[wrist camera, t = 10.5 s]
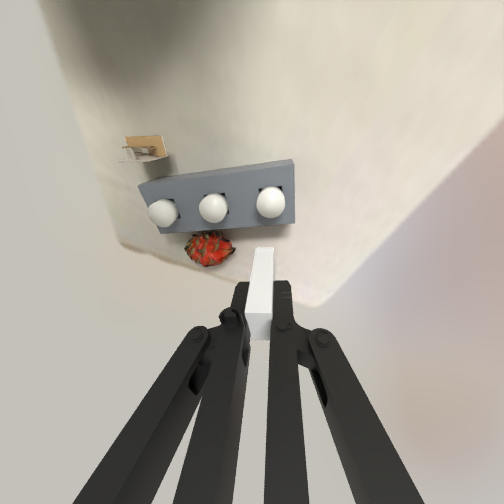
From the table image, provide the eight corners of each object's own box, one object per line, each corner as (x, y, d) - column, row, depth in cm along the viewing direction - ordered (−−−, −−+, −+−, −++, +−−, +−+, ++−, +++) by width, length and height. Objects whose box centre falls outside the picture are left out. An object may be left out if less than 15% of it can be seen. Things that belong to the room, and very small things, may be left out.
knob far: (166, 191, 38) (142, 204, 32) (185, 189, 37) (166, 202, 31) (174, 212, 41) (154, 228, 34) (193, 210, 40) (176, 226, 33)
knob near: (258, 179, 35) (254, 192, 28) (283, 176, 34) (284, 188, 27) (261, 203, 37) (258, 219, 31) (284, 200, 36) (285, 216, 30)
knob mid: (210, 186, 36) (195, 198, 30) (232, 183, 35) (221, 195, 29) (215, 207, 39) (203, 223, 32) (236, 205, 38) (227, 221, 31)
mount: (155, 178, 38) (137, 185, 33) (291, 159, 33) (294, 164, 28) (173, 221, 43) (160, 233, 38) (292, 211, 38) (294, 223, 33)
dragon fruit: (190, 232, 46) (236, 233, 47) (189, 265, 46) (236, 266, 47) (178, 227, 38) (235, 228, 38) (177, 268, 38) (234, 268, 38)
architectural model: (137, 135, 34) (106, 137, 28) (171, 135, 33) (148, 136, 27) (144, 156, 36) (116, 162, 30) (176, 155, 35) (155, 161, 29)
